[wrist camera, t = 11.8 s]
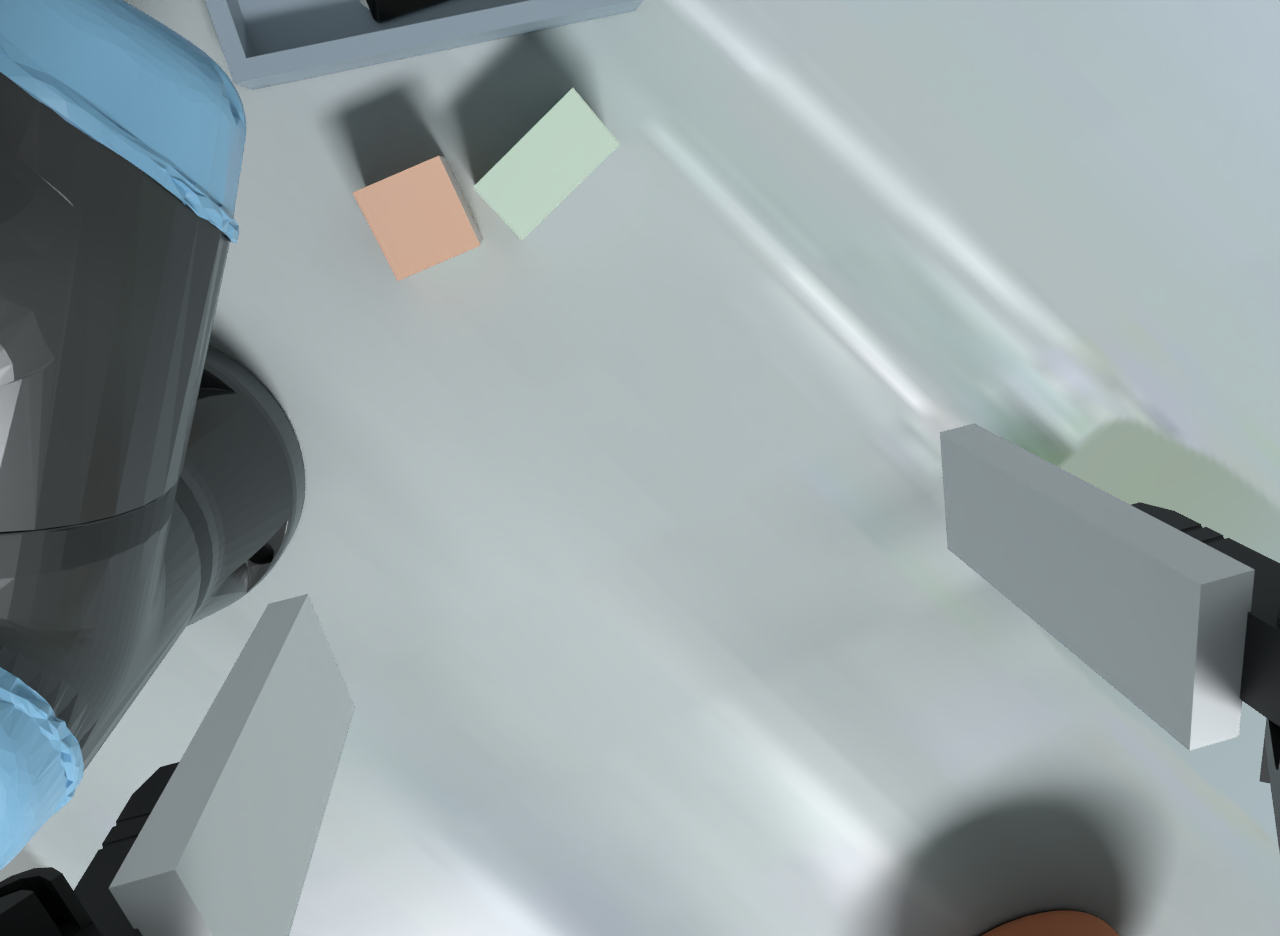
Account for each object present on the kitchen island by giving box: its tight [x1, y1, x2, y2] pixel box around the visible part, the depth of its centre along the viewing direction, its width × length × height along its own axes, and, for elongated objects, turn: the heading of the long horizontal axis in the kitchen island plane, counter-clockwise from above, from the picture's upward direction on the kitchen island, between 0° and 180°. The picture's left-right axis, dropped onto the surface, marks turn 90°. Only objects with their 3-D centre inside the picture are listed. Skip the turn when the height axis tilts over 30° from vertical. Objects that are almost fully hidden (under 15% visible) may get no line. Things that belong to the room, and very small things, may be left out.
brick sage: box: [473, 88, 620, 240], centre depth 36 cm, size 6×3×4 cm, turn 132°
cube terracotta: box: [353, 156, 483, 281], centre depth 36 cm, size 4×4×4 cm
